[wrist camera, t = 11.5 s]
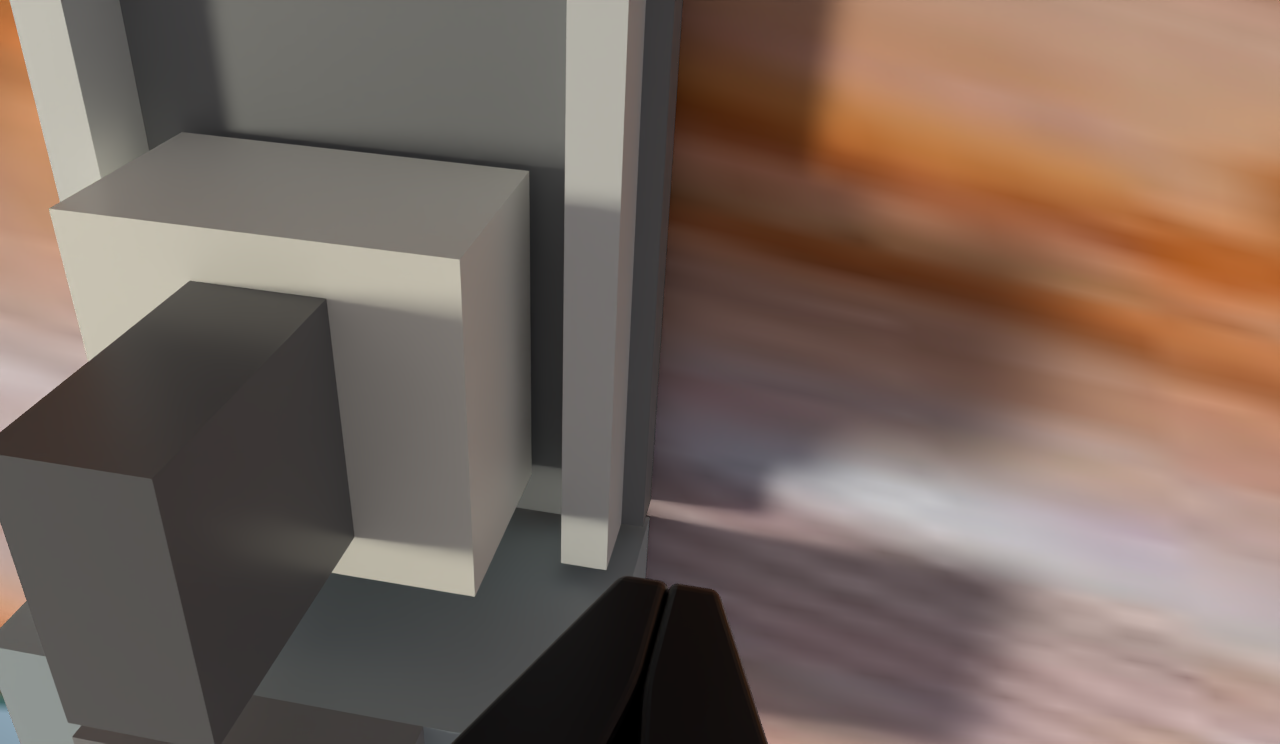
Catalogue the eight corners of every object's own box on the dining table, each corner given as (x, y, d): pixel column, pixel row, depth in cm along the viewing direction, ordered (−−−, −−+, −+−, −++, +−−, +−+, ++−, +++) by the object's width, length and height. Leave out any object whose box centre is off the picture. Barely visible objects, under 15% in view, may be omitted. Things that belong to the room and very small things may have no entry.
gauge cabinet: (662, 518, 25) (577, 835, 18) (649, 696, 28) (572, 1028, 21) (179, 444, 27) (-78, 707, 20) (217, 620, 30) (7, 903, 23)
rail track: (725, -657, 15) (689, -753, 12) (650, 500, 25) (622, 599, 22) (-60, -662, 16) (-260, -748, 13) (175, 428, 27) (91, 512, 24)
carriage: (529, 170, 20) (318, 438, 12) (531, 473, 24) (370, 824, 16) (181, 132, 21) (-213, 359, 13) (235, 428, 25) (-51, 740, 17)
